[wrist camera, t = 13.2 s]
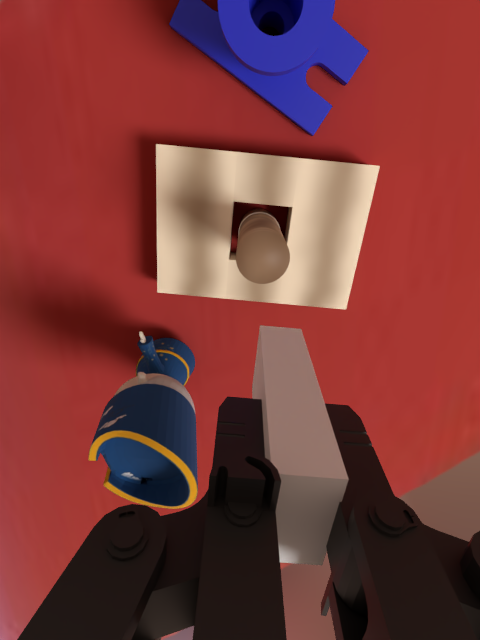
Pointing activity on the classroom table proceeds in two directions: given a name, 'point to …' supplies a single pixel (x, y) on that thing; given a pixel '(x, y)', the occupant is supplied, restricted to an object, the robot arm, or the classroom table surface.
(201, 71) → the classroom table surface
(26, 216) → the classroom table surface
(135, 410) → the blue tall vessel
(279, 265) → the peg
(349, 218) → the board
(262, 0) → the mount
